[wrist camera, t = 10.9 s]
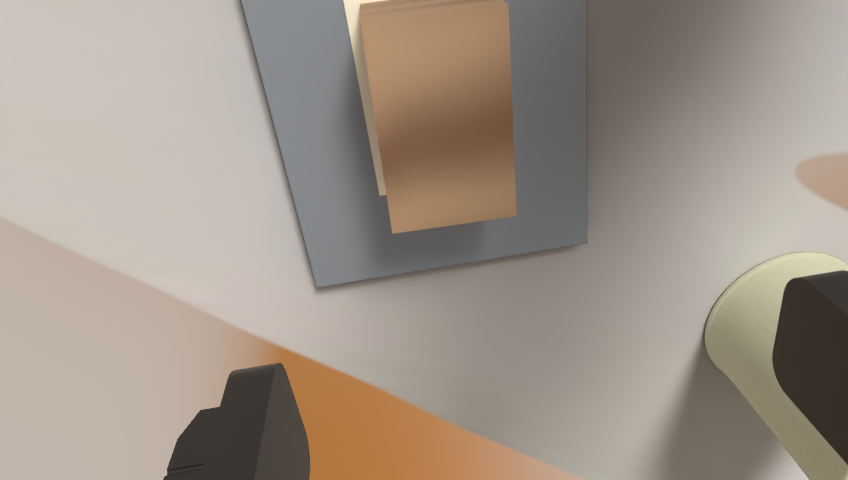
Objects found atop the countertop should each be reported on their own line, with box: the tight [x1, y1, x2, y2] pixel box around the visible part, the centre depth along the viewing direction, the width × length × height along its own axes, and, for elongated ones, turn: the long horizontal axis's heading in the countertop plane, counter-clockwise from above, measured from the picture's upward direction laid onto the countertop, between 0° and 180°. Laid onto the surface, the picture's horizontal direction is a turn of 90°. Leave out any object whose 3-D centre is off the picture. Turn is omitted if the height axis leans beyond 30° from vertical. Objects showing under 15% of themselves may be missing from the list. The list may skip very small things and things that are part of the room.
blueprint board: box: [241, 0, 587, 287], centre depth 27 cm, size 18×14×1 cm
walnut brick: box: [360, 0, 517, 234], centre depth 24 cm, size 8×5×5 cm, turn 6°
